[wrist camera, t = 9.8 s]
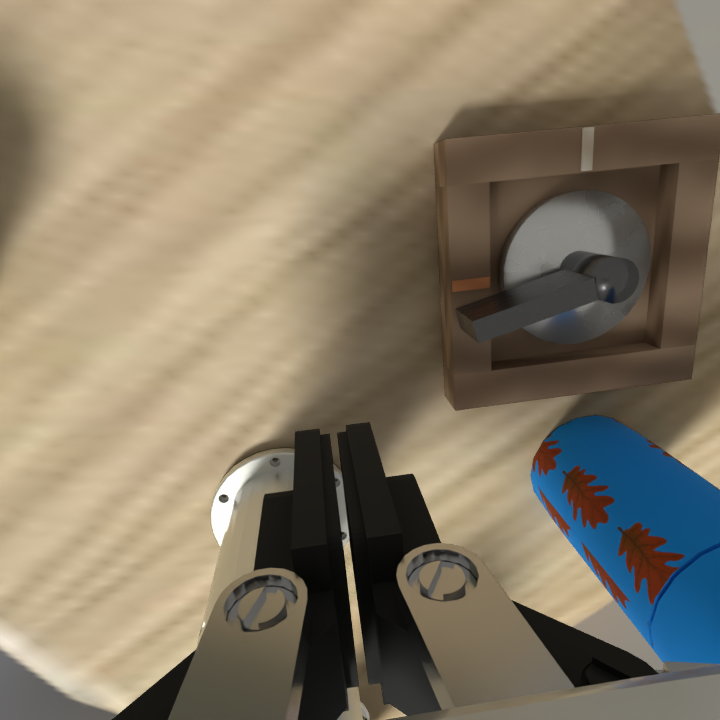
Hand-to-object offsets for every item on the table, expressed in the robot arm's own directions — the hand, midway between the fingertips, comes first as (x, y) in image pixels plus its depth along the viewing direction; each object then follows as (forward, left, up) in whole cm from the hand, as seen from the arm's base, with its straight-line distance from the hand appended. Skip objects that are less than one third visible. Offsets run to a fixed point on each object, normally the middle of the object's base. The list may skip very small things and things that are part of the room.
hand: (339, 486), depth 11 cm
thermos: (-20, -23, -29) cm, 42 cm away
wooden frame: (-1, -20, -29) cm, 35 cm away
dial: (-1, -18, -28) cm, 33 cm away
